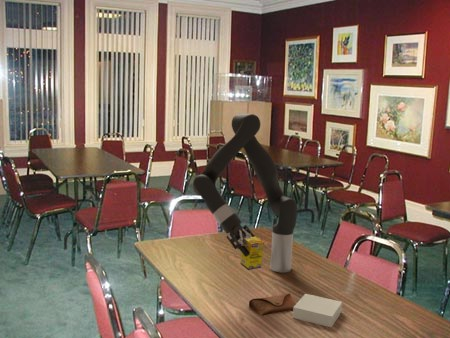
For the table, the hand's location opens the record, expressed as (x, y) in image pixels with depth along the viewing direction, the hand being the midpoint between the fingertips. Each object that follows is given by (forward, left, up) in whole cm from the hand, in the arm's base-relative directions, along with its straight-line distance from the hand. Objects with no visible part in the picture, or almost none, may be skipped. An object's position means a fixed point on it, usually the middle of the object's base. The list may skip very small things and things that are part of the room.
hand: (252, 252), depth 194 cm
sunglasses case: (+3, +12, -19) cm, 22 cm away
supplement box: (0, -1, -6) cm, 6 cm away
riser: (+1, +27, -18) cm, 33 cm away
